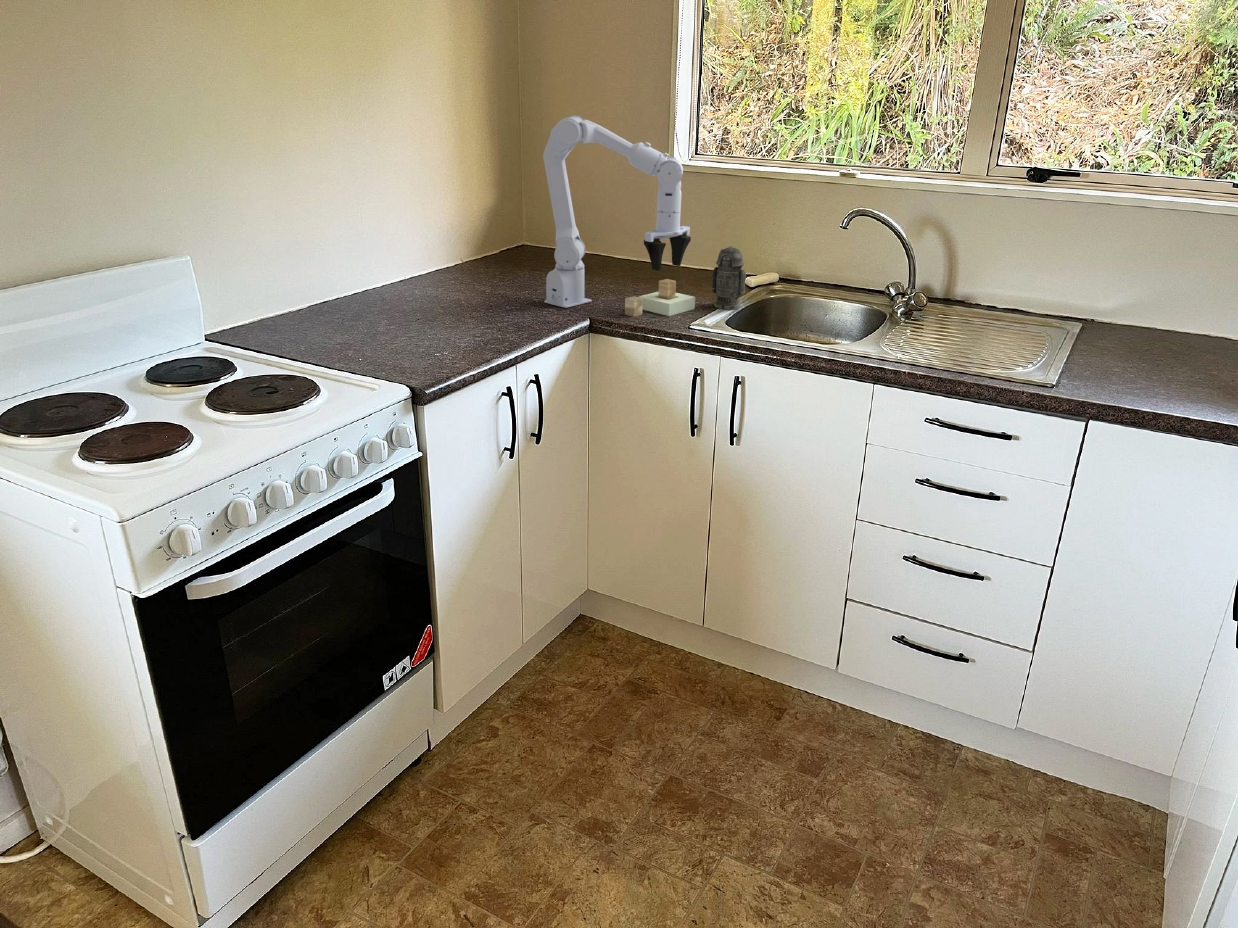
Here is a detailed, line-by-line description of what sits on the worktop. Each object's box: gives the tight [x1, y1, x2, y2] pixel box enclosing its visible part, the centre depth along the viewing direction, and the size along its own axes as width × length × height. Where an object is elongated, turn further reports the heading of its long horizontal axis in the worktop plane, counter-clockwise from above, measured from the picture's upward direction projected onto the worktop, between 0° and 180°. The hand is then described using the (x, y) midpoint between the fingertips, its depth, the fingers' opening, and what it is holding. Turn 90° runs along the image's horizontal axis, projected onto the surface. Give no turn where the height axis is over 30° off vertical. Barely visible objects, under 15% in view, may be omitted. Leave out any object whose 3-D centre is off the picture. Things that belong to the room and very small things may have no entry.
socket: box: [637, 290, 696, 317], centre depth 230 cm, size 10×10×3 cm
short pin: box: [624, 296, 643, 318], centre depth 224 cm, size 3×3×4 cm
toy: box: [711, 245, 747, 310], centre depth 230 cm, size 8×6×15 cm
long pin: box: [658, 278, 677, 300], centre depth 229 cm, size 3×3×7 cm
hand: (666, 267), depth 228 cm, fingers open, 7 cm apart
